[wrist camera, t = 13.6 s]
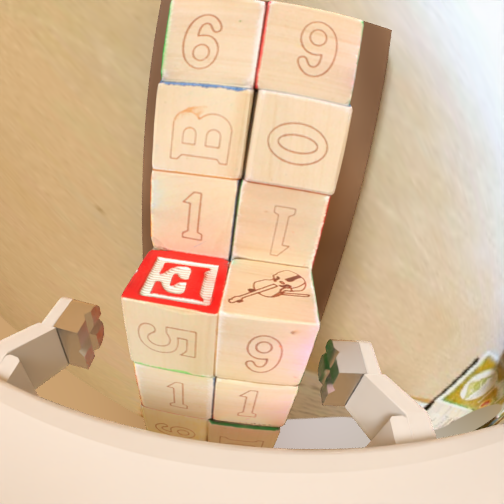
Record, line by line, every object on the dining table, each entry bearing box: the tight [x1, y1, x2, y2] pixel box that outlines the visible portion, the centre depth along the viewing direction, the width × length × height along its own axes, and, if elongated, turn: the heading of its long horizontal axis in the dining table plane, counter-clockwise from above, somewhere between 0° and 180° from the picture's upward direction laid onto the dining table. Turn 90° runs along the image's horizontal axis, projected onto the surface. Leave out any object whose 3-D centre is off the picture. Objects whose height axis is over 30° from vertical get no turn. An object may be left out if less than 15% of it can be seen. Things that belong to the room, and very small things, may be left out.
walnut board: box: [142, 0, 392, 321], centre depth 22 cm, size 14×28×2 cm, turn 172°
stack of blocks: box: [121, 0, 364, 448], centre depth 15 cm, size 21×6×12 cm, turn 171°
